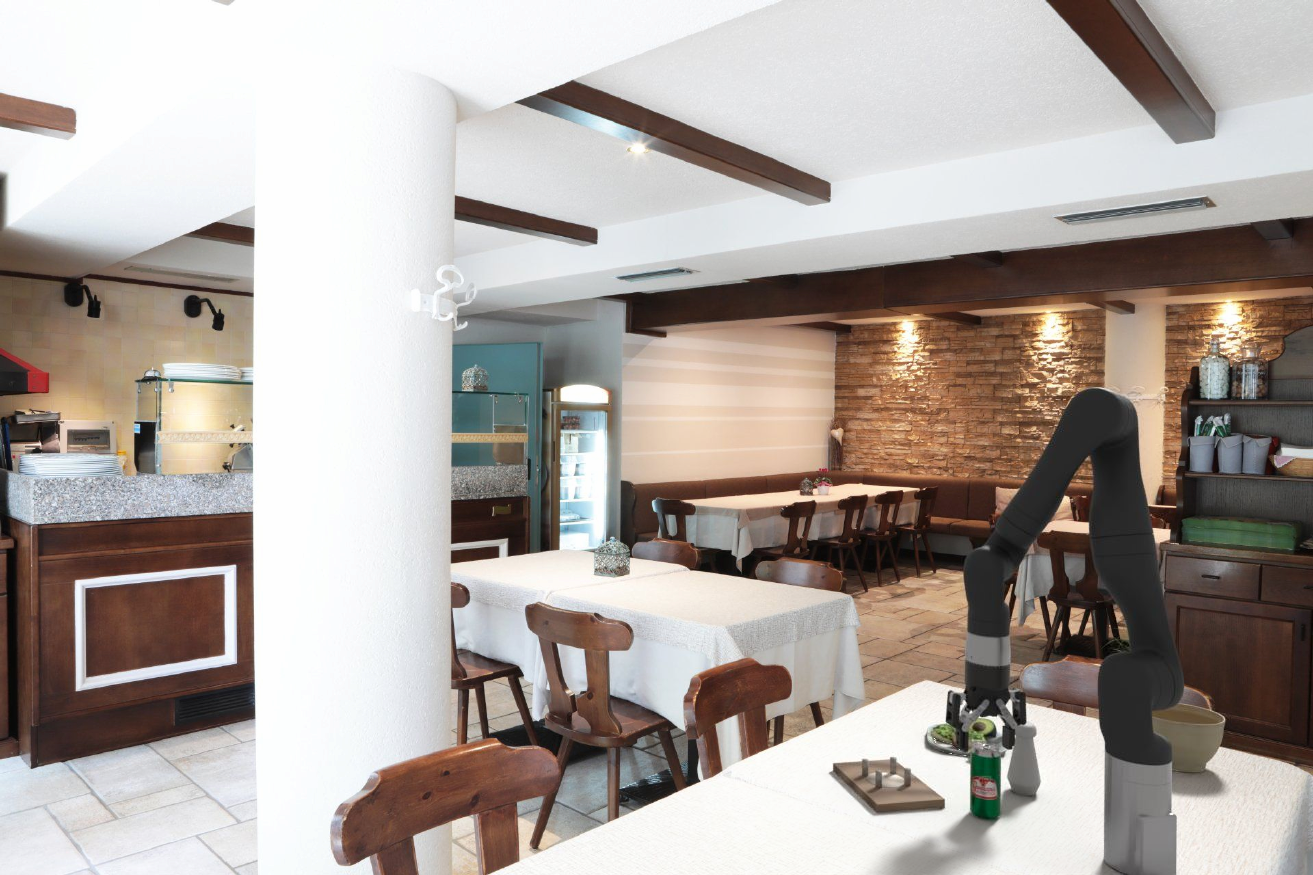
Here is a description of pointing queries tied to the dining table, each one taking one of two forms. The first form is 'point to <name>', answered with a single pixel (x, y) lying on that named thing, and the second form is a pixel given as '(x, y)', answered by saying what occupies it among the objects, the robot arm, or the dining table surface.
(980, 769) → the soda can
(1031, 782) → the salt shaker
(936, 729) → the salad plate
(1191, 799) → the dining table surface
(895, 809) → the pin board
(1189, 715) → the planter bowl
